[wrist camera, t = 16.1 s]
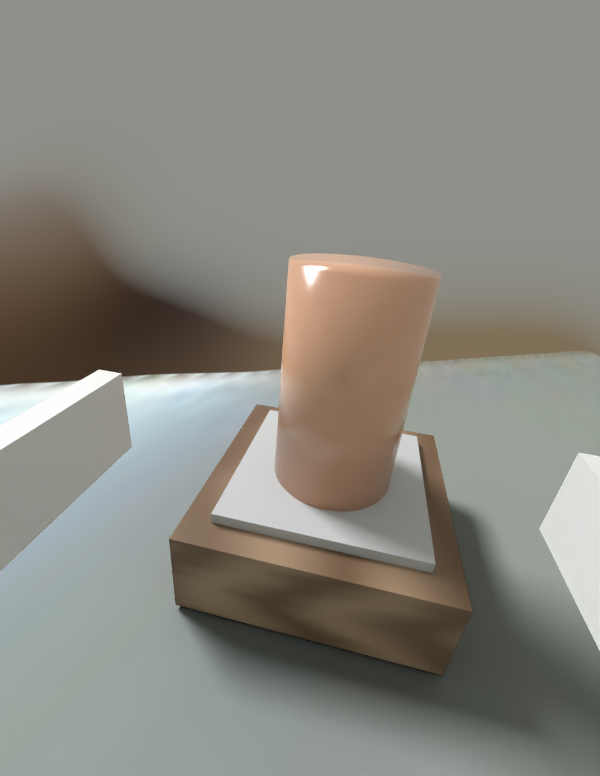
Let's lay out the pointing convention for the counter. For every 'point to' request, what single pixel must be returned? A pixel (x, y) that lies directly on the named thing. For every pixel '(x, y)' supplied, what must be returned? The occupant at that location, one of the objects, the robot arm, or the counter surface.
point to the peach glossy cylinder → (348, 374)
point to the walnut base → (327, 555)
